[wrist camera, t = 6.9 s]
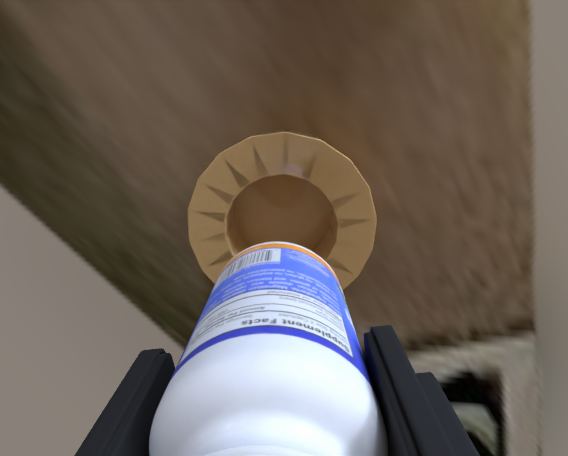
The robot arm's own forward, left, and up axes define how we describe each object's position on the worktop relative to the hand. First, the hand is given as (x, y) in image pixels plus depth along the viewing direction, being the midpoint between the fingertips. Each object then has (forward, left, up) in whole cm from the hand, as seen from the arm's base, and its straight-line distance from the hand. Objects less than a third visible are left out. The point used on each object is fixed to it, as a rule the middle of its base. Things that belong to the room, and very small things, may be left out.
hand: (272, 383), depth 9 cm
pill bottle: (0, 0, -5) cm, 5 cm away
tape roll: (0, 0, -17) cm, 17 cm away
